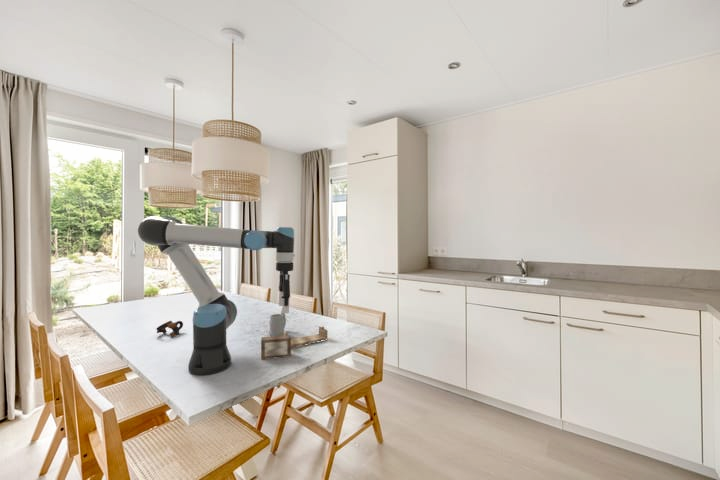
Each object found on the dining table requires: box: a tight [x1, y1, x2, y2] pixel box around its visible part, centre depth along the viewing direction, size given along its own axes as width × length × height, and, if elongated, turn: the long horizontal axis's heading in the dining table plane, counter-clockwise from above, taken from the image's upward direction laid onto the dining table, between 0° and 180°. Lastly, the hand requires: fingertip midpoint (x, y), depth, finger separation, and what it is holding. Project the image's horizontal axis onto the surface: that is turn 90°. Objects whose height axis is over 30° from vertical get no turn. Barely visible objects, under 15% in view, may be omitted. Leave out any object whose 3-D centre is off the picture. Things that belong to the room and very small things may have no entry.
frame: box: [260, 334, 292, 360], centre depth 132 cm, size 12×4×8 cm, turn 104°
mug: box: [268, 310, 287, 337], centre depth 161 cm, size 8×12×12 cm, turn 162°
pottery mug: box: [155, 320, 184, 338], centre depth 159 cm, size 12×10×8 cm
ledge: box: [282, 326, 328, 349], centre depth 148 cm, size 20×7×6 cm, turn 124°
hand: (283, 309), depth 138 cm, fingers open, 13 cm apart
